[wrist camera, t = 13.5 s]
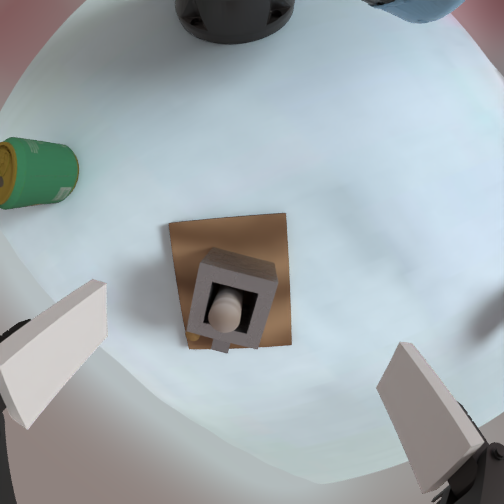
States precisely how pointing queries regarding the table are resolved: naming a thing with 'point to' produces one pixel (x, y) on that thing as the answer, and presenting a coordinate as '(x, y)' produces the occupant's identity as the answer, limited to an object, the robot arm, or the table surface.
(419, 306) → the table surface
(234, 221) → the post base
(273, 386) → the table surface
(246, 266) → the grey hollow square block
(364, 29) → the table surface
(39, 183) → the beverage can
